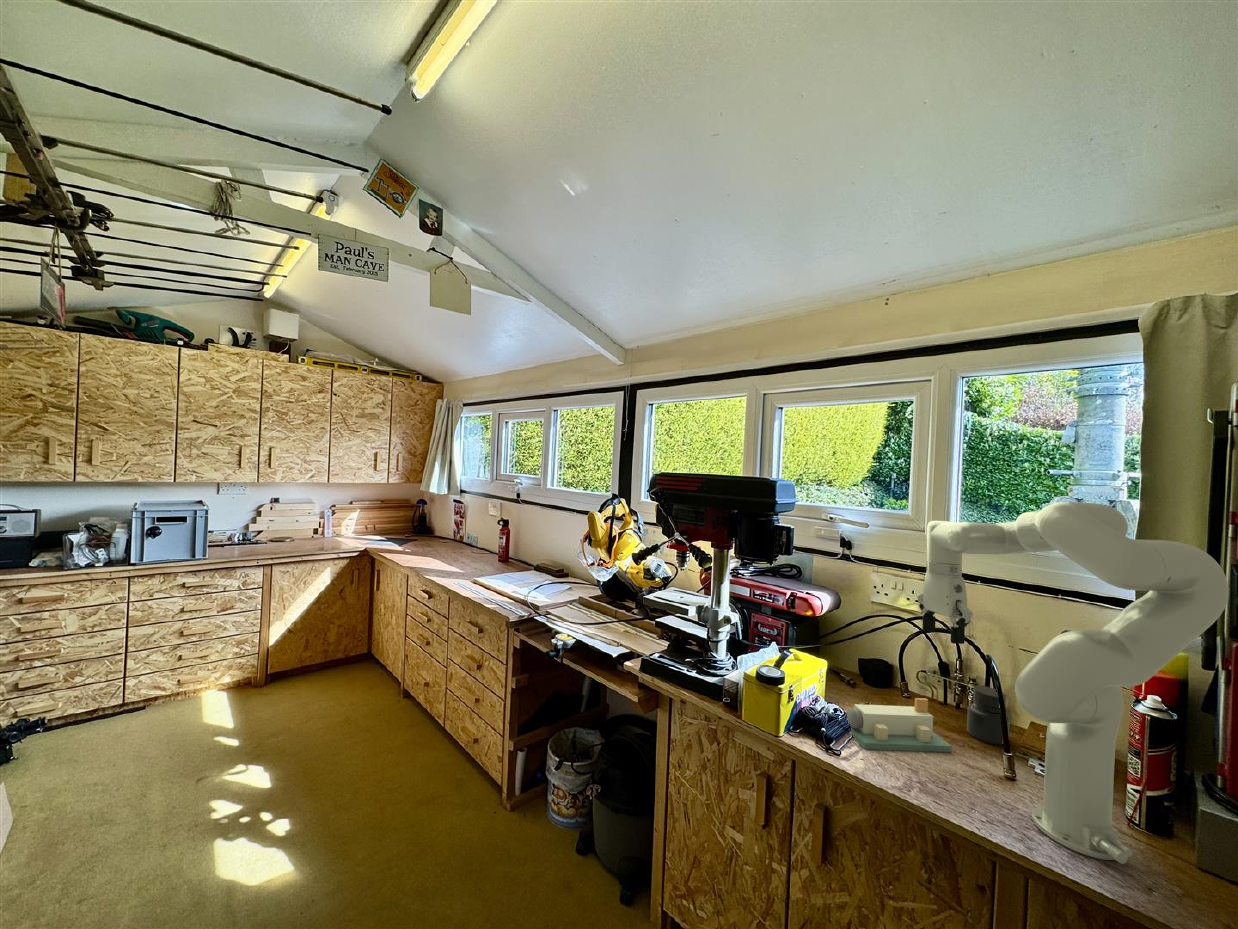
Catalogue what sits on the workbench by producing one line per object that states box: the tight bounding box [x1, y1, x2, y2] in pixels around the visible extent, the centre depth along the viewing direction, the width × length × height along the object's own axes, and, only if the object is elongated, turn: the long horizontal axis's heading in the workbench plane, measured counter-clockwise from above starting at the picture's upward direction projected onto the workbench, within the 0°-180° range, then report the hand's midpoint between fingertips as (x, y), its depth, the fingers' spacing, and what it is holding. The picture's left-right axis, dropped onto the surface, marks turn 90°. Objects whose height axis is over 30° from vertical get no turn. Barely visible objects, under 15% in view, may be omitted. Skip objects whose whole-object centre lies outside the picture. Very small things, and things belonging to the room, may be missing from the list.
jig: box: [851, 724, 952, 753], centre depth 125 cm, size 14×22×4 cm, turn 93°
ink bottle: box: [966, 685, 1011, 746], centre depth 128 cm, size 10×9×12 cm
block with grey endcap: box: [846, 697, 934, 736], centre depth 125 cm, size 5×20×8 cm, turn 92°
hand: (942, 637), depth 123 cm, fingers open, 9 cm apart
